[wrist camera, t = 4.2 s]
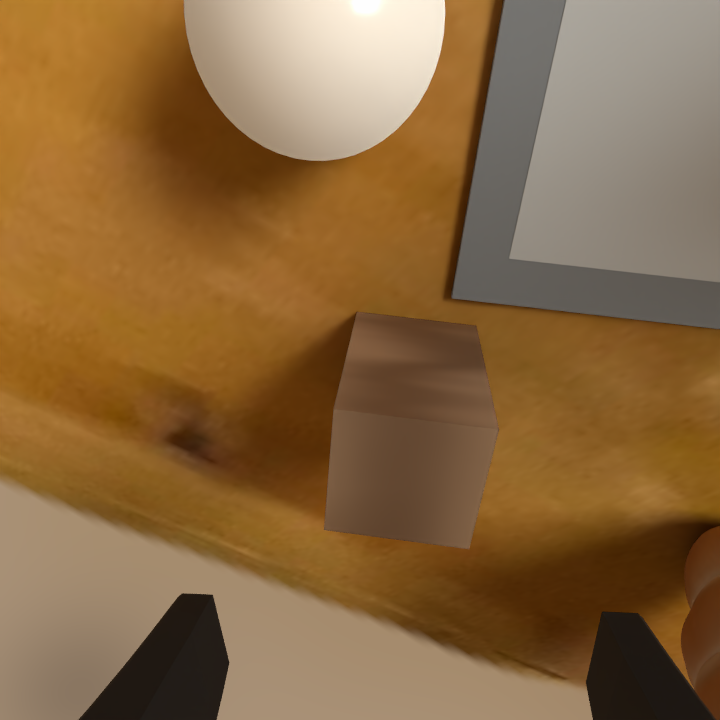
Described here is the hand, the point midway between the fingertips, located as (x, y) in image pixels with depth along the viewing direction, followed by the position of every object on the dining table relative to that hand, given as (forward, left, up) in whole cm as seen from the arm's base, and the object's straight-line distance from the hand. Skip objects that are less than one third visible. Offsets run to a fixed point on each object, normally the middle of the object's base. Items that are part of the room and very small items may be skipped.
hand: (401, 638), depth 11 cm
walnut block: (0, 0, -10) cm, 10 cm away
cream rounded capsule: (+3, -10, -10) cm, 15 cm away
